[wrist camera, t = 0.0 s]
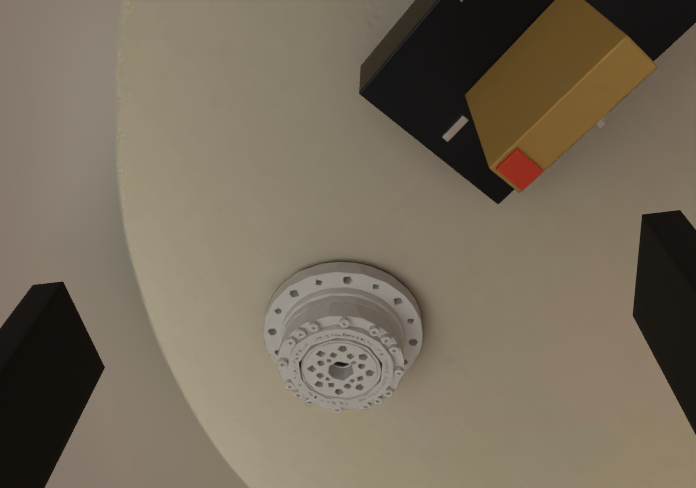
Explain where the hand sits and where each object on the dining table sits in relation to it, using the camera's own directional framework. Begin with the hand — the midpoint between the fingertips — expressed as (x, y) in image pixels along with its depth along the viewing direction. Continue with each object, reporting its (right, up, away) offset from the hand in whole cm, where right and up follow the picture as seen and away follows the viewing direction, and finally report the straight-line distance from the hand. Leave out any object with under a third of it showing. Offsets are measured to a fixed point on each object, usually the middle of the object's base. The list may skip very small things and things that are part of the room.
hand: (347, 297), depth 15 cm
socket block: (+8, +12, +17) cm, 22 cm away
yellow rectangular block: (+8, +9, +13) cm, 18 cm away
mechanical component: (0, -4, +27) cm, 27 cm away
